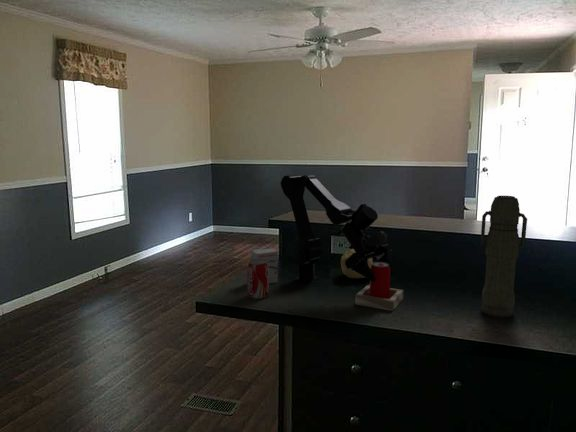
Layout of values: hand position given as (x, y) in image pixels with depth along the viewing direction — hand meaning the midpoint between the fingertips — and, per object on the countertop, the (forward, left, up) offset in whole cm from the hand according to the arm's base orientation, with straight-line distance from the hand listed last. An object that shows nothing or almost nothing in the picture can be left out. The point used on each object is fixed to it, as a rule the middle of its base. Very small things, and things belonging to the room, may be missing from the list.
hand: (383, 278), depth 149 cm
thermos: (-8, +33, -8) cm, 35 cm away
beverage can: (0, -1, -8) cm, 8 cm away
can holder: (0, -1, -8) cm, 8 cm away
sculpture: (-22, -17, -8) cm, 29 cm away
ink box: (0, -44, -8) cm, 45 cm away
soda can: (+14, -38, -8) cm, 41 cm away
